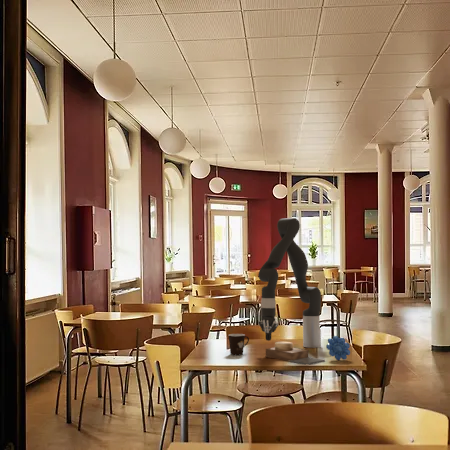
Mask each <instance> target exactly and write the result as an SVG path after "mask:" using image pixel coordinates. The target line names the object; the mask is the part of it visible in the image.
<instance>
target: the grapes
mask: <svg viewBox="0 0 450 450" xmlns="http://www.w3.org/2000/svg"><path fill="white" fill-rule="evenodd" d="M350 346H351V345H350V343H348V342H346V338H345V337H342V336H341V337H339V336H337V335H333V336H332V338H331V337H329V338H327V344H326V349H327V351H328V354H329V356H330V357H334V359H335V360H337V361H340V360H341V359H342V360H344V361H345V360H347V357H348V356H349V355H351V350H350V348H351V347H350Z"/></svg>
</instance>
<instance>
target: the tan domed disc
mask: <svg viewBox="0 0 450 450" xmlns="http://www.w3.org/2000/svg"><path fill="white" fill-rule="evenodd" d="M274 347H275V349H276V350H293V348H294V343H293V342H292V341H291V342H290V341H276V342H274Z"/></svg>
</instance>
